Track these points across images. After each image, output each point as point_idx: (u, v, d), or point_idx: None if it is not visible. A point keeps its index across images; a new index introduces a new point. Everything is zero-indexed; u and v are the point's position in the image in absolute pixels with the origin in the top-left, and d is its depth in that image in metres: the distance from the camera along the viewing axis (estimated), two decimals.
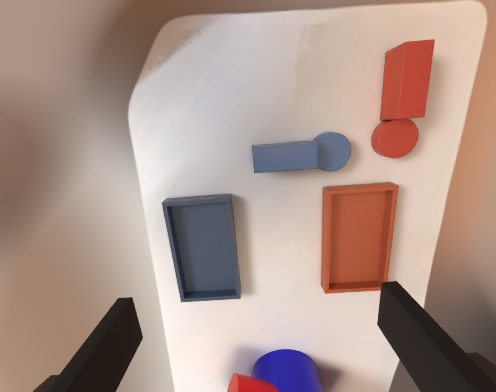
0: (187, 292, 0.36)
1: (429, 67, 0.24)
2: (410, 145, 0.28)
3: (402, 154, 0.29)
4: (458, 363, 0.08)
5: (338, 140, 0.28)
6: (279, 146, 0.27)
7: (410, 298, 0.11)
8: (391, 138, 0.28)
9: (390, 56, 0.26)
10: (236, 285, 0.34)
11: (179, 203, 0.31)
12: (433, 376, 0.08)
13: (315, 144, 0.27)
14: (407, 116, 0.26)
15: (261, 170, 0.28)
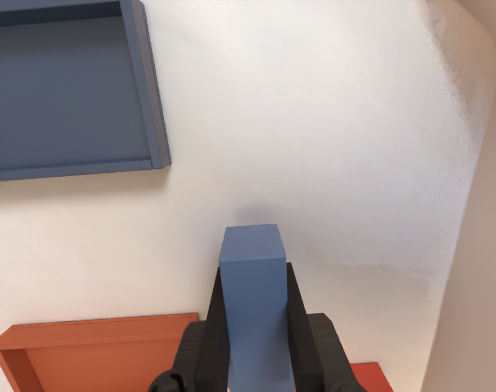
0: None
1: None
2: None
3: None
4: (295, 317, 0.10)
5: (285, 386, 0.15)
6: (285, 313, 0.11)
7: None
8: None
9: (376, 375, 0.20)
10: None
11: (132, 41, 0.12)
12: (288, 331, 0.11)
13: (286, 378, 0.12)
14: None
15: (226, 277, 0.10)
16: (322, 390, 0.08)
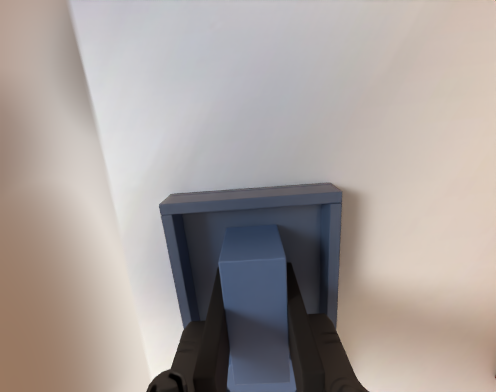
0: None
1: None
2: None
3: None
4: (295, 317, 0.10)
5: (285, 387, 0.15)
6: (285, 314, 0.11)
7: (294, 274, 0.13)
8: None
9: None
10: None
11: (205, 206, 0.12)
12: (289, 331, 0.11)
13: (286, 380, 0.12)
14: None
15: (225, 279, 0.10)
16: (323, 390, 0.08)
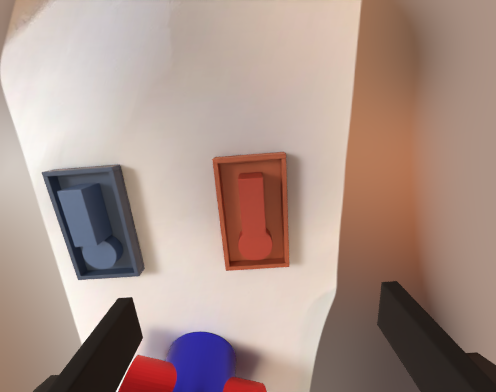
0: (88, 271, 0.35)
1: (262, 198, 0.28)
2: (266, 250, 0.32)
3: (260, 257, 0.32)
4: (458, 363, 0.08)
5: (110, 258, 0.32)
6: (87, 213, 0.29)
7: (410, 298, 0.11)
8: (249, 245, 0.32)
9: None
10: (132, 261, 0.33)
11: (60, 173, 0.29)
12: (433, 376, 0.08)
13: (95, 244, 0.30)
14: (251, 235, 0.29)
15: (60, 198, 0.28)
16: None
